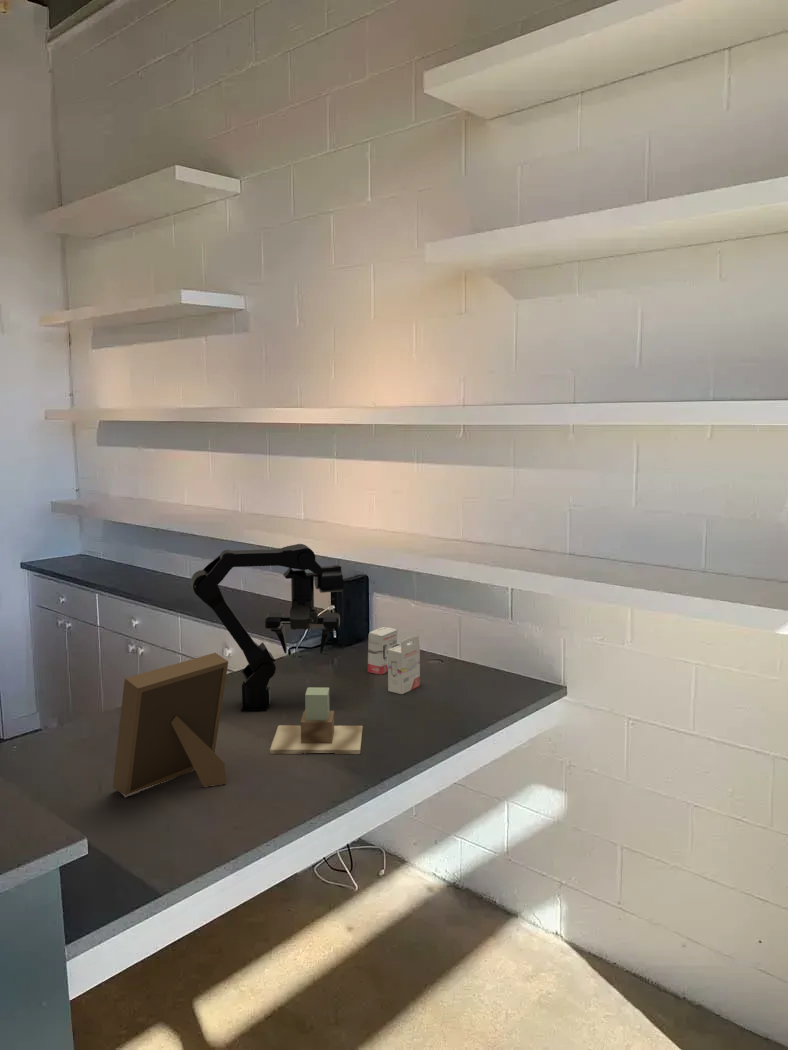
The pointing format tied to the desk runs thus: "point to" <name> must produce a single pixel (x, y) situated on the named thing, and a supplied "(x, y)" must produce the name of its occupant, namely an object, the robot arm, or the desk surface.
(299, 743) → the base plate
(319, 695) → the sage block
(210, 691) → the photo frame
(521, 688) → the desk surface
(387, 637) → the ink box
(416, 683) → the ink cartridge box
